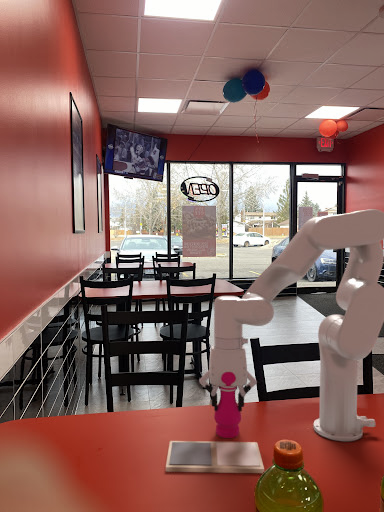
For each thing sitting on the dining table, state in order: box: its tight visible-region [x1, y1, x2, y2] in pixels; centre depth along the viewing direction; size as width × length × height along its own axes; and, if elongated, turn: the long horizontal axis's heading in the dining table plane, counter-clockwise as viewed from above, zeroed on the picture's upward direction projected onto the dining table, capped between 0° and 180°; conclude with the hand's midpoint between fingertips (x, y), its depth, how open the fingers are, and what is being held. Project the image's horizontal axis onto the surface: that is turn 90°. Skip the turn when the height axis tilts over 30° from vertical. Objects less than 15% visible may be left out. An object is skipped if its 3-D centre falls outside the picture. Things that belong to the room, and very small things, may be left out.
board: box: [165, 440, 265, 474], centre depth 98 cm, size 22×12×1 cm, turn 88°
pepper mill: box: [213, 372, 242, 439], centre depth 110 cm, size 7×7×20 cm
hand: (227, 408), depth 111 cm, fingers closed on pepper mill, 5 cm apart
